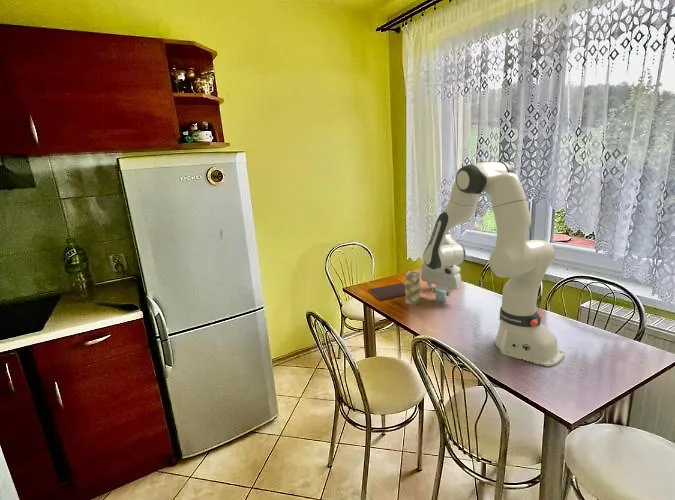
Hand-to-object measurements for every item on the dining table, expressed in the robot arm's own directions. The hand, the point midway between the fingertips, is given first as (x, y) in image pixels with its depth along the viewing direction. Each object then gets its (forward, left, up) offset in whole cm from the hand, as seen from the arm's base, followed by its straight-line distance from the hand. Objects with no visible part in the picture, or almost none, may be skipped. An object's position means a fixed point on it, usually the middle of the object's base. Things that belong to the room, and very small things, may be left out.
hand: (439, 293), depth 177 cm
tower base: (+8, +10, -4) cm, 14 cm away
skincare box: (+6, -12, -4) cm, 14 cm away
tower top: (+8, +10, +6) cm, 14 cm away
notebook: (+24, +7, -5) cm, 26 cm away
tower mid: (+8, +10, +1) cm, 13 cm away
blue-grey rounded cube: (0, 0, -4) cm, 4 cm away
